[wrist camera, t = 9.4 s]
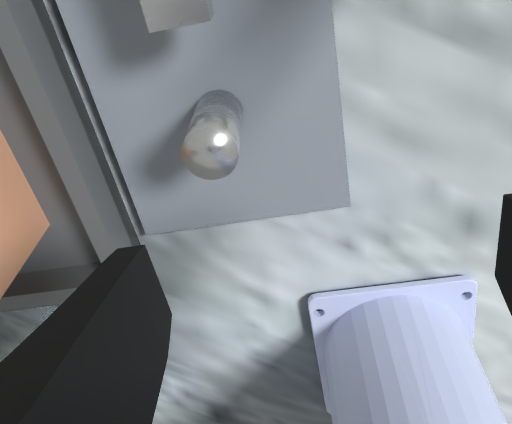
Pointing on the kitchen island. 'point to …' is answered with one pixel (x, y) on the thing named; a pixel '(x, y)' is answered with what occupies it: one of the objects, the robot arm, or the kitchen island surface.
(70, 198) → the tray
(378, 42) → the kitchen island surface
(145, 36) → the slate board
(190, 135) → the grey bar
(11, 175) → the orange hollow square box
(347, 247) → the kitchen island surface
